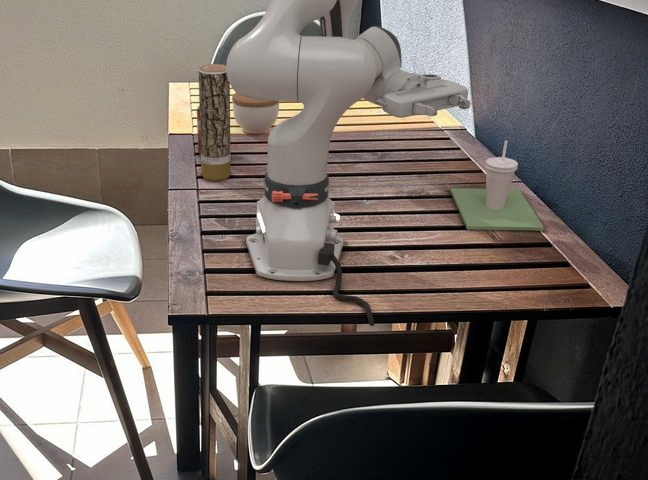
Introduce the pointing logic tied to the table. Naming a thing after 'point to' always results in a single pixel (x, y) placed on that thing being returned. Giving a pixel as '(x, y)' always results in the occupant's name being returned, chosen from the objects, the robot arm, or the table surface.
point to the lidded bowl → (254, 113)
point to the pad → (495, 211)
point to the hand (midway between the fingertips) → (451, 108)
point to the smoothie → (499, 179)
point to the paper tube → (214, 122)
